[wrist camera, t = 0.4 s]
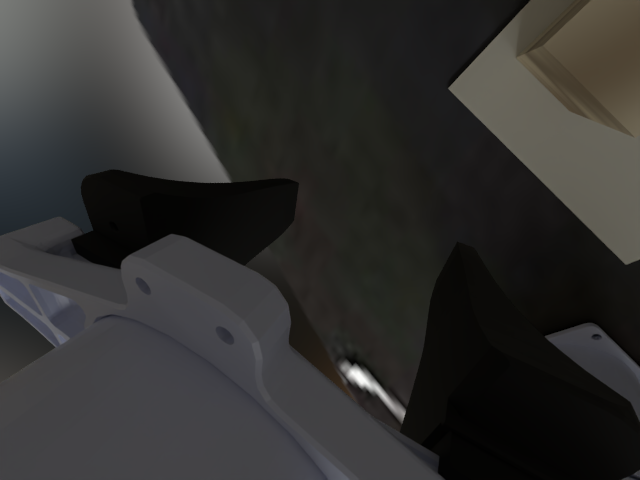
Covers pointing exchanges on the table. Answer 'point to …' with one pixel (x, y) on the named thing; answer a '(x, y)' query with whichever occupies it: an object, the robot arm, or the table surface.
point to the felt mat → (556, 134)
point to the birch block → (592, 61)
